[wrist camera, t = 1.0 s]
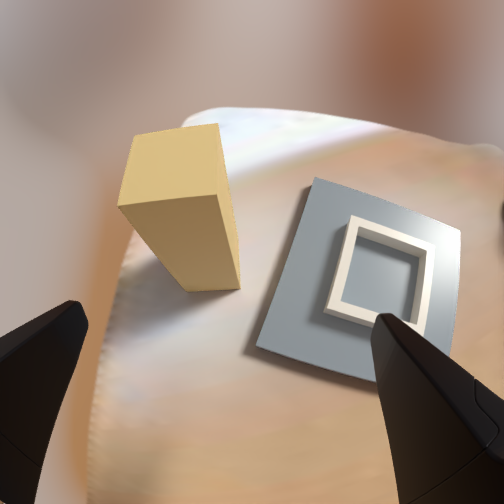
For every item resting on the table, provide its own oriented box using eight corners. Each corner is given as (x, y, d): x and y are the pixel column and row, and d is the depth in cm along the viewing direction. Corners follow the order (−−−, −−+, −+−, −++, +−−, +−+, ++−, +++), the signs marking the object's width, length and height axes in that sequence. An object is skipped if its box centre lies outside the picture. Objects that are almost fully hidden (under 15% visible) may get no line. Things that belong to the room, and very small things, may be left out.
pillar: (240, 288, 24) (217, 194, 12) (186, 291, 24) (117, 205, 12) (238, 239, 25) (217, 123, 14) (187, 242, 25) (134, 135, 14)
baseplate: (432, 395, 19) (449, 395, 16) (255, 346, 22) (254, 342, 19) (454, 236, 25) (467, 223, 22) (313, 184, 27) (316, 166, 25)
